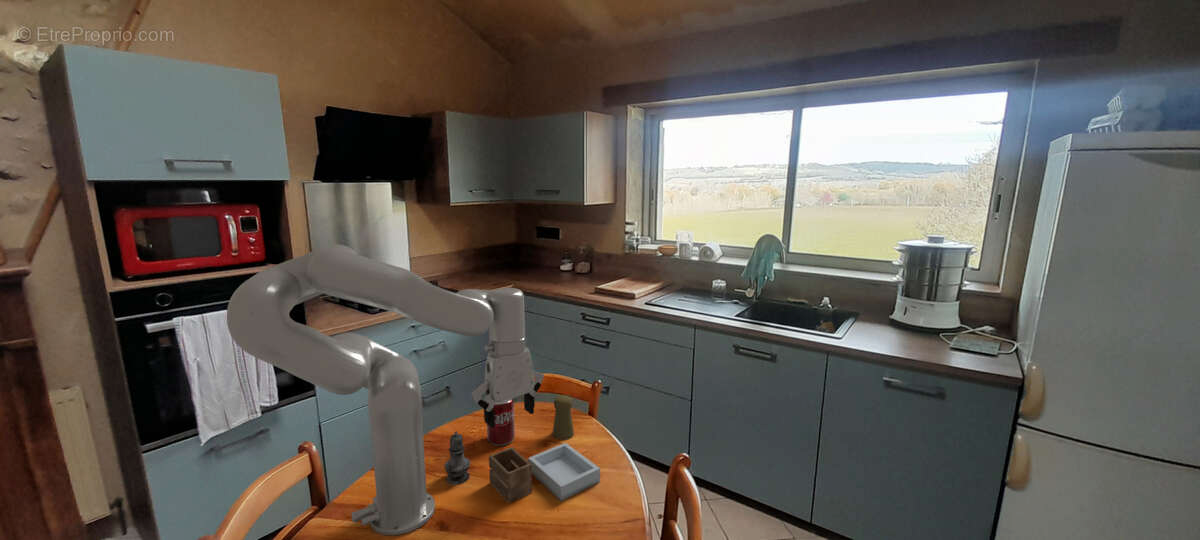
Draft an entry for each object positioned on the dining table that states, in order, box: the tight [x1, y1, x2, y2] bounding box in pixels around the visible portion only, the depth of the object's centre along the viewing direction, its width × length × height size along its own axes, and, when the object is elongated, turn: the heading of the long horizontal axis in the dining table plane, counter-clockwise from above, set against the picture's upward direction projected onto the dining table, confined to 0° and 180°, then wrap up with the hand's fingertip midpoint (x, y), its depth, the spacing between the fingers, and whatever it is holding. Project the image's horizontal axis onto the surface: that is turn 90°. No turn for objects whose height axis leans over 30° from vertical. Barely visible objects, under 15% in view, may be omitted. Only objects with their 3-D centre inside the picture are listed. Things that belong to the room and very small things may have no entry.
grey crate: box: [527, 442, 601, 502], centre depth 112 cm, size 11×14×4 cm
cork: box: [552, 394, 575, 441], centre depth 130 cm, size 6×6×11 cm
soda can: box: [486, 398, 516, 447], centre depth 127 cm, size 7×7×12 cm
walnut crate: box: [488, 446, 533, 504], centre depth 107 cm, size 6×9×7 cm, turn 39°
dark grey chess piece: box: [443, 430, 471, 486], centre depth 110 cm, size 6×6×12 cm
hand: (510, 418), depth 105 cm, fingers open, 9 cm apart
